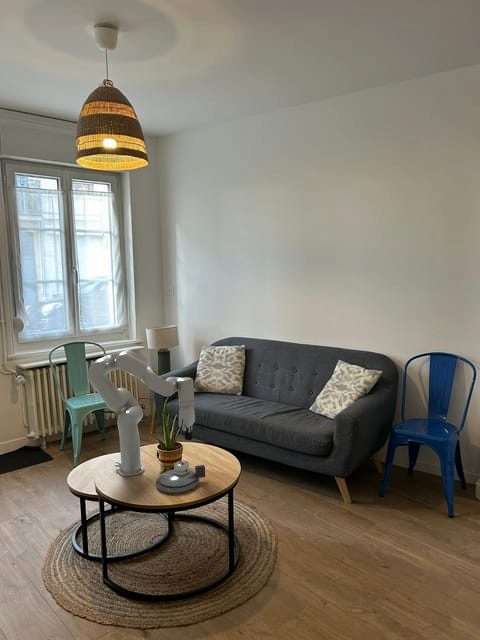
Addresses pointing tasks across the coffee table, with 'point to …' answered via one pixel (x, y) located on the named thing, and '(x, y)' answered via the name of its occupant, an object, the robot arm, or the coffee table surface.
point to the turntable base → (177, 490)
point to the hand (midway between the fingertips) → (188, 439)
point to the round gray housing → (181, 477)
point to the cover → (181, 468)
